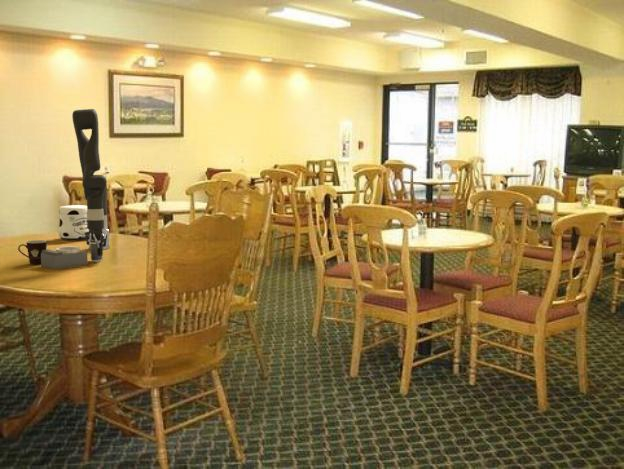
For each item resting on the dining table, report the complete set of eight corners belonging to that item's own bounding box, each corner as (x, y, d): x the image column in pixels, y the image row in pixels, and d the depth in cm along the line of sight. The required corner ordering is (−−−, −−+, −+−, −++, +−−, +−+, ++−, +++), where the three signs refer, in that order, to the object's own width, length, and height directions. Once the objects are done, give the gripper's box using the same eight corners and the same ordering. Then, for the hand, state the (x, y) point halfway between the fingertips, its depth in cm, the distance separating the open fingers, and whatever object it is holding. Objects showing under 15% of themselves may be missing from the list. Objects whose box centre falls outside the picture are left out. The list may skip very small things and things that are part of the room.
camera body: (73, 261, 325) (72, 245, 324) (87, 264, 319) (87, 248, 317) (41, 266, 313) (40, 249, 312) (55, 269, 306) (54, 252, 305)
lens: (98, 259, 331) (97, 240, 330) (104, 261, 328) (104, 241, 327) (88, 261, 327) (87, 241, 326) (95, 262, 324) (94, 243, 323)
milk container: (85, 242, 381) (84, 208, 379) (53, 241, 381) (52, 208, 379) (95, 237, 398) (95, 205, 396) (65, 236, 399) (64, 204, 396)
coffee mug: (51, 262, 322) (51, 240, 320) (38, 266, 313) (37, 243, 312) (30, 260, 325) (30, 239, 324) (17, 264, 317) (16, 241, 316)
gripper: (112, 219, 323) (112, 256, 326) (93, 216, 332) (94, 252, 334) (98, 220, 317) (99, 258, 320) (79, 217, 326) (80, 254, 329)
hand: (96, 255), depth 327 cm, fingers closed on lens, 5 cm apart
